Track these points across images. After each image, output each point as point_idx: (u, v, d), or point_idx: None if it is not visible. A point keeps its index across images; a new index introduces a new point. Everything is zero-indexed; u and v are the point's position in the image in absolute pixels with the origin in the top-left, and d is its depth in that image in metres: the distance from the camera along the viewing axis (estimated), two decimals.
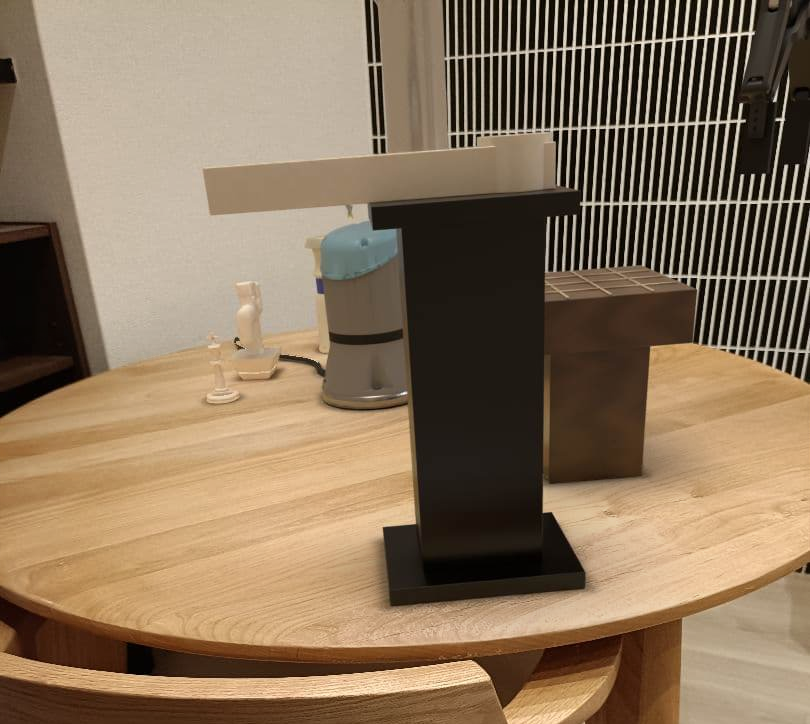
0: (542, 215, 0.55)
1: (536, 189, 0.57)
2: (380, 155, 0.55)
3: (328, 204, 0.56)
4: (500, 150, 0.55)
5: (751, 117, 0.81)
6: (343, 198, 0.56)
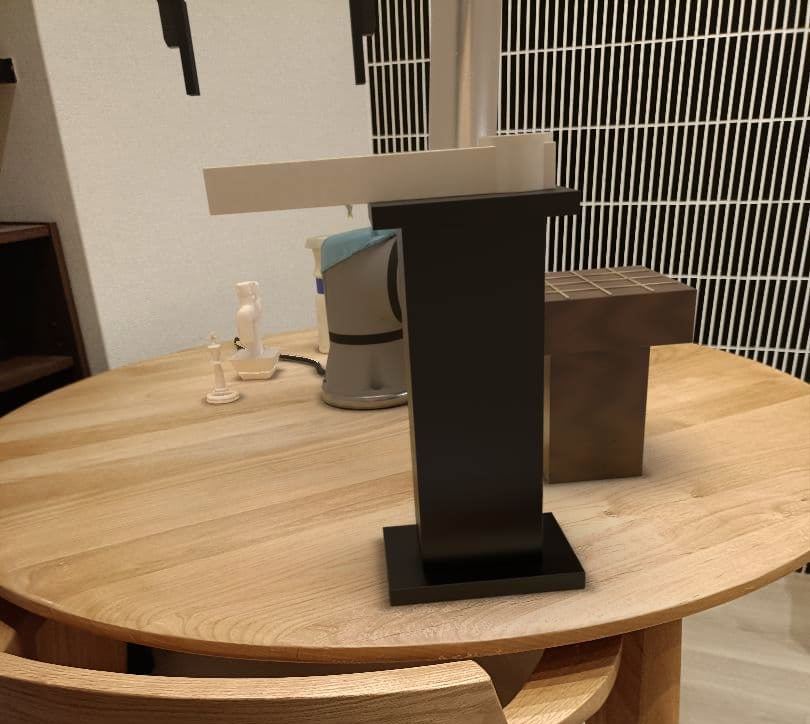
0: (542, 215, 0.55)
1: (536, 189, 0.57)
2: (380, 155, 0.55)
3: (328, 204, 0.56)
4: (500, 150, 0.55)
5: None
6: (343, 198, 0.56)
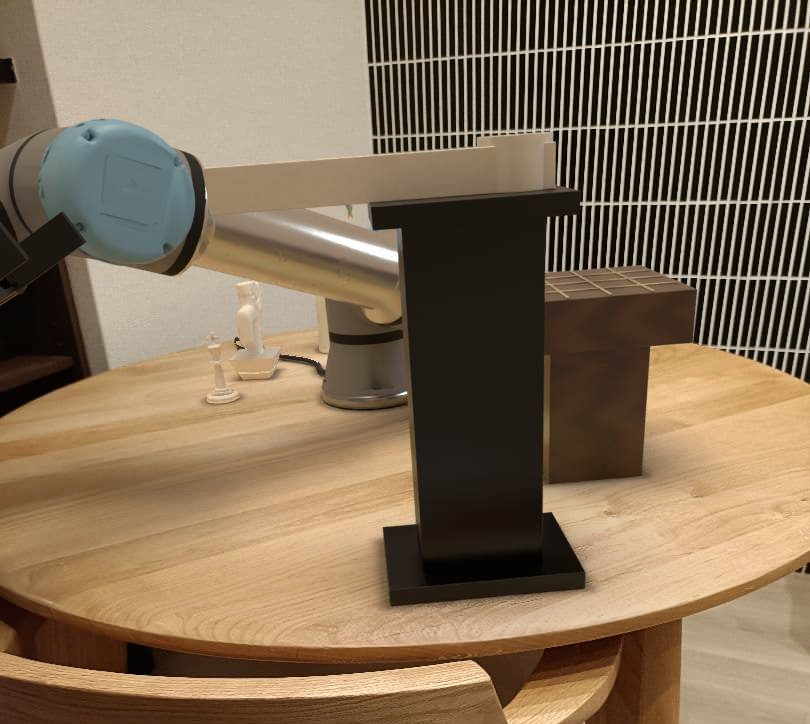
0: (542, 215, 0.55)
1: (536, 189, 0.57)
2: (380, 155, 0.55)
3: (328, 204, 0.56)
4: (500, 150, 0.55)
5: None
6: (343, 198, 0.56)
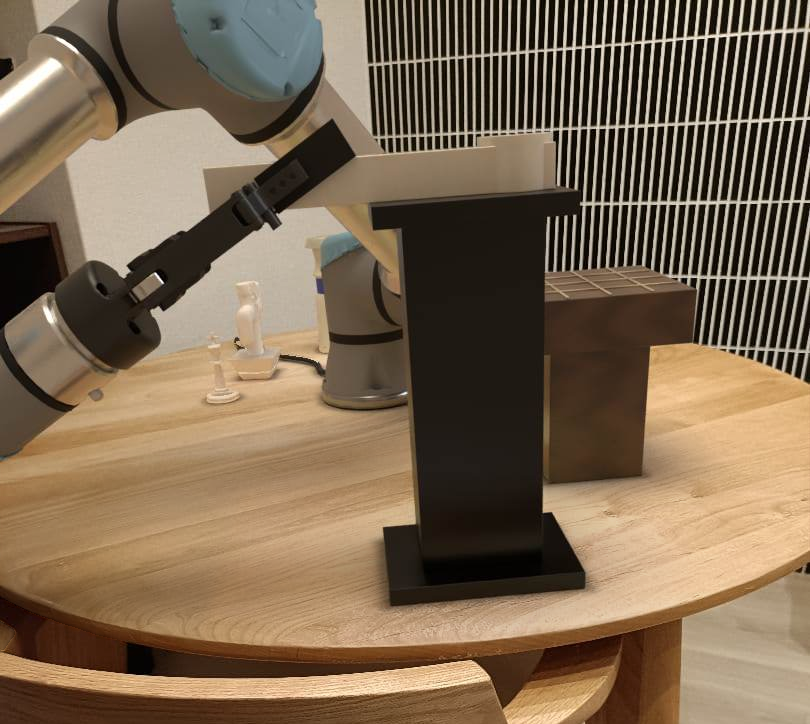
0: (542, 215, 0.55)
1: (536, 189, 0.57)
2: (380, 155, 0.55)
3: (328, 204, 0.56)
4: (500, 150, 0.55)
5: None
6: (343, 198, 0.56)
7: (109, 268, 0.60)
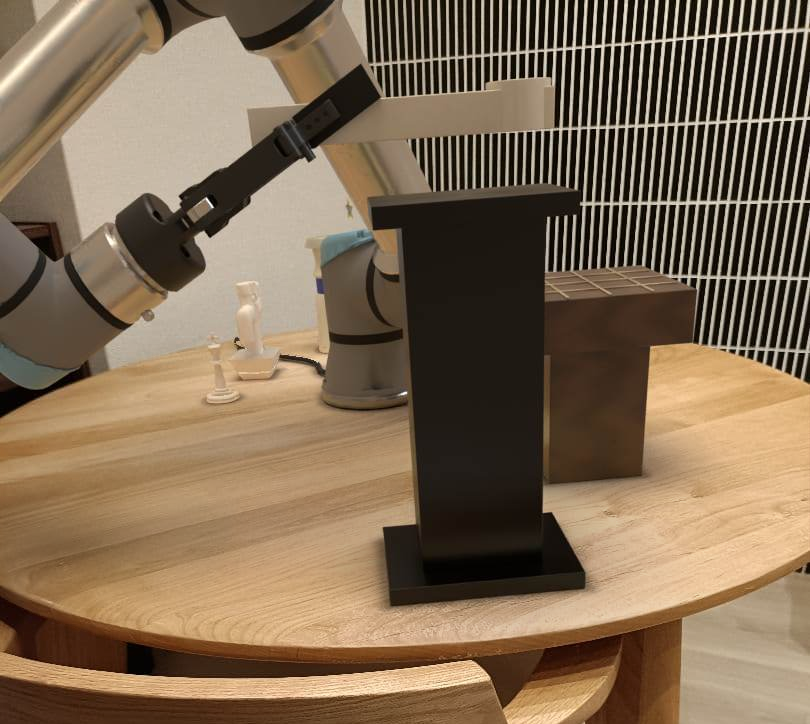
0: (542, 215, 0.55)
1: (537, 128, 0.65)
2: (401, 97, 0.63)
3: (355, 141, 0.65)
4: (506, 93, 0.64)
5: None
6: (369, 136, 0.64)
7: (161, 201, 0.69)
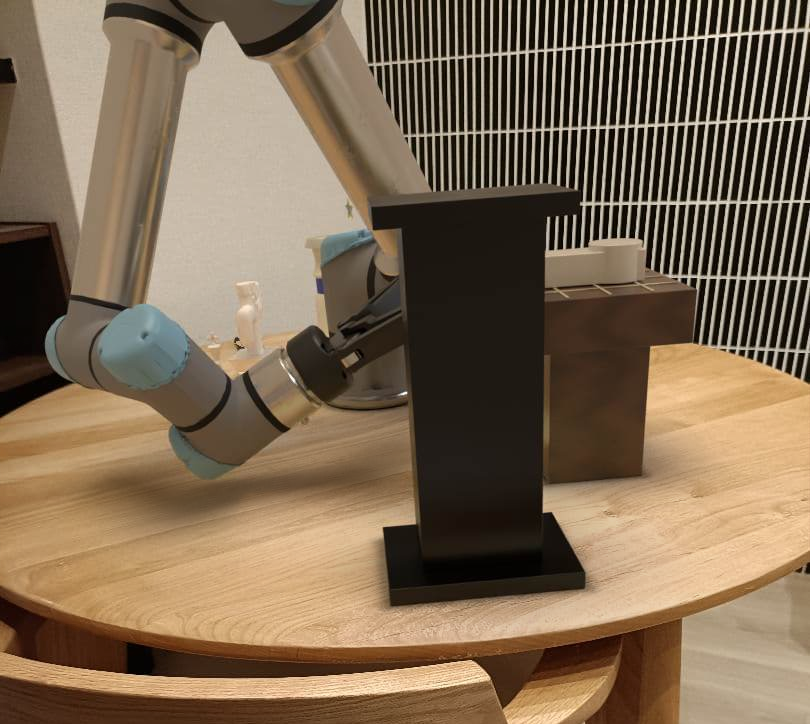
0: (542, 215, 0.55)
1: (631, 281, 0.80)
2: None
3: None
4: (607, 255, 0.79)
5: None
6: None
7: (320, 330, 0.84)
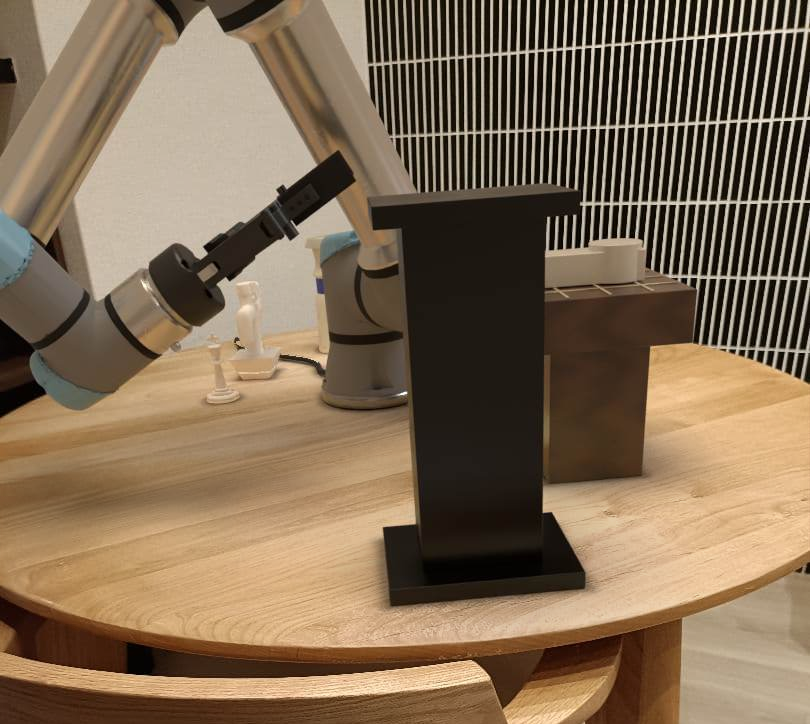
0: (542, 215, 0.55)
1: (631, 281, 0.80)
2: None
3: None
4: (607, 255, 0.79)
5: None
6: None
7: (187, 249, 0.80)
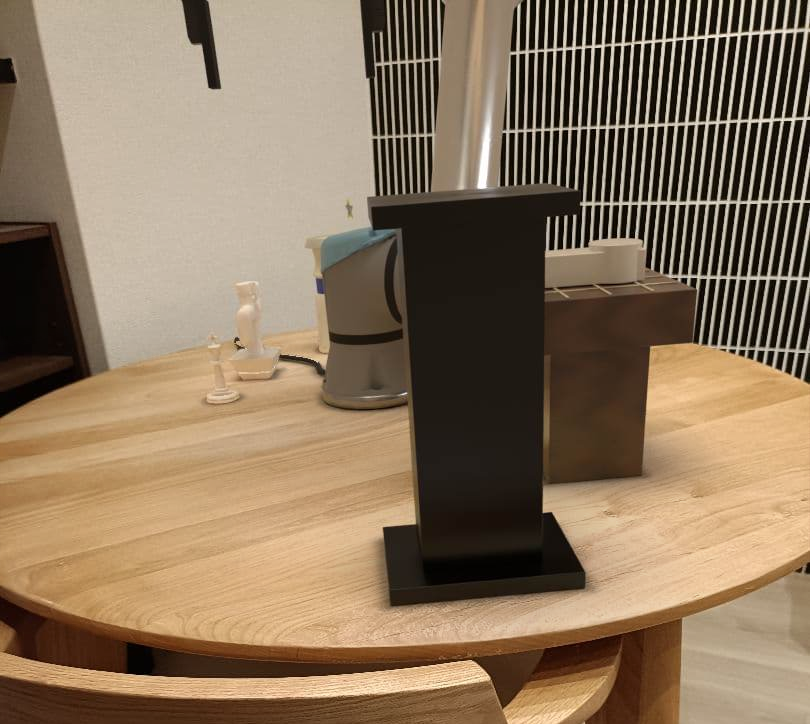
0: (542, 215, 0.55)
1: (631, 281, 0.80)
2: None
3: None
4: (607, 255, 0.79)
5: None
6: None
7: None
